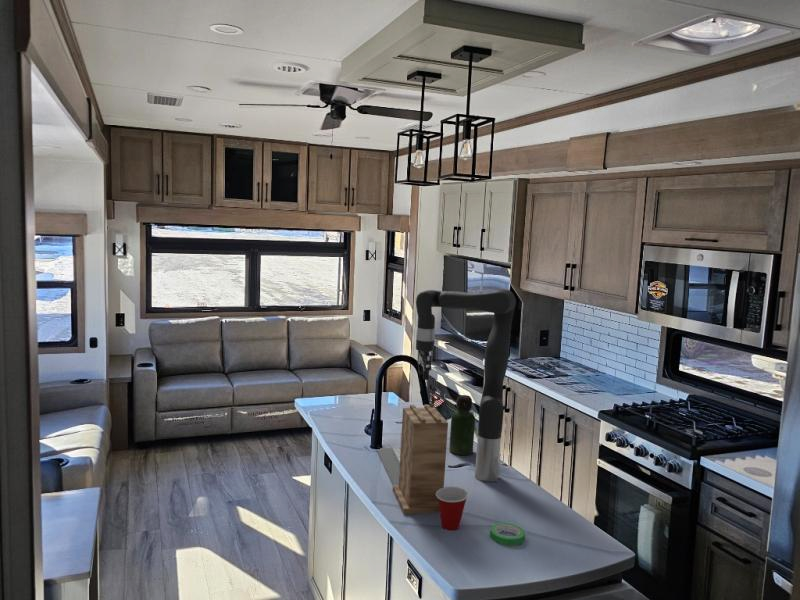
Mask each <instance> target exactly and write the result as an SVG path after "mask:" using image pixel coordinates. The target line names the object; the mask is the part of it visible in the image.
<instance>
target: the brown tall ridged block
mask: <svg viewBox="0 0 800 600" xmlns="http://www.w3.org/2000/svg"><path fill="white" fill-rule="evenodd" d="M423 405H424V407H417V406H416V405H415V404H409V407H402V421H401V422H402V423H401V437H400V438H401V439H400V448H401V453H400V470H399V485H392V492H394V493H393V495H394V494H395V495H394V497H395V499H396V501H397V503H398V505H400V506H399V508H400V509H401V512H402V514H403V515H421V514H422V513H424V514H425V515H426V514H440V509H439V502H438V498H437V496H436V491H438V490H439V489H441V488H444V487H445V474H446V472H445V471H446V460H447V459H446V458H447V445H448V443H447V442H448V429H449V428H448V427H449V422H448V421H447V420H446V419H445V417H443V415H442V414H441V413H440V412H439V411H438V409H437V408H436V407H431V405H429V404H423ZM420 513H421V514H420ZM424 514H423V515H424Z"/></svg>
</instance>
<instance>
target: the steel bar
mask: <svg viewBox="0 0 800 600" xmlns="http://www.w3.org/2000/svg"><path fill="white" fill-rule="evenodd" d="M391 448H392V456H393V458H394V460H395V462H396V464H397V465H398V467H399V469H400V453H401V450H400V448H401V447H391Z"/></svg>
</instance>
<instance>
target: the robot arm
mask: <svg viewBox="0 0 800 600" xmlns="http://www.w3.org/2000/svg"><path fill="white" fill-rule="evenodd" d="M415 300H416V301H415V306H416V307H415V308H416V314H417V330H416V339H415V350H416V351H417V361H416V362H417V366H418V373H419V374H418V375H419V376H422V380H424V381H429V380H430V379H429V377H430V371H432V355H430V352H433V351H434V350H435V339H436V338H435V337H436V331H435V328H436V327H435V326H436V317H435V314H433V311H432V310H433V309H432V308H443V309H447V310H448V309H450V310H477V311H483V312H488V313H492V314H493V321H492V322H493V323H492V327H491V330H490V332H489V336H488V338H487V340H486V345H485V353H484V368H483V369H484V371H483V372H484V383H483V385H484V386H483V389H482V390H483V391H482V395H481V398H480V403H479V413H478V427H477V441H476V455H475V468H474V469H475V470H474V477H475V478H476V479H477V480H479V481H482V482H497V481H498V479H499V477H500V468H501V467H500V466H501V455H502V454H501V453H500V452H501V442H502V432H503V423H504V420H503V419H504V403H503V399H504V398H503V397H504V396H503V392H504V391H503V389H504V387H503V386H504V380H505V376H506V373H507V369H508V365H509V358H510V357H509V356H510V346H511V345H510V344H511V331H512V324H513V323H512V322H513V319H514V318H513V317H514V314H515V310H516V309H515V308H516V304H517V300H516V296H515V294H514V293H513V292H512V291H511V290H509V289H499V290H496V291H492V292H485V293H472V292H471V293H470V292H465V291H457V290H456V291H452V290H451V291H450V290H447V291H446V290H445V291H444V290H443V291H442V290H437V289H428V290H422V291H420V292H419V293H418V294H417V296H416V299H415ZM418 364H419V365H420V367H421V369H420V367H419V365H418ZM421 370H422V371H421ZM422 374H423V375H422Z"/></svg>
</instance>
